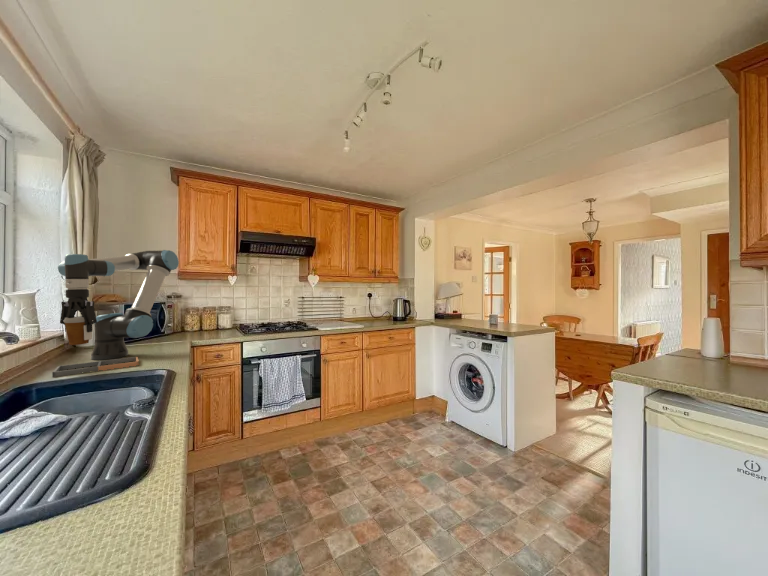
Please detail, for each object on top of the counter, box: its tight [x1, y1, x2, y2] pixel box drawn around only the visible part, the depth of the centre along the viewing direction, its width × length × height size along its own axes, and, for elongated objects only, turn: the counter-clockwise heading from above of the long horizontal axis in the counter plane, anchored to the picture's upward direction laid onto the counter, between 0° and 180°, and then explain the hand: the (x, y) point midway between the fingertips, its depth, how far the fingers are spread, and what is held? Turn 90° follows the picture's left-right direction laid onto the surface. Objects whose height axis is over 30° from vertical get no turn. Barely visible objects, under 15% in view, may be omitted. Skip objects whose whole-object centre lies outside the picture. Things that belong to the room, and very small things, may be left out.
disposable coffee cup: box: [64, 315, 90, 346], centre depth 143 cm, size 10×10×12 cm
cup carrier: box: [52, 356, 140, 378], centre depth 147 cm, size 15×28×2 cm, turn 129°
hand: (79, 339), depth 143 cm, fingers closed on disposable coffee cup, 8 cm apart
